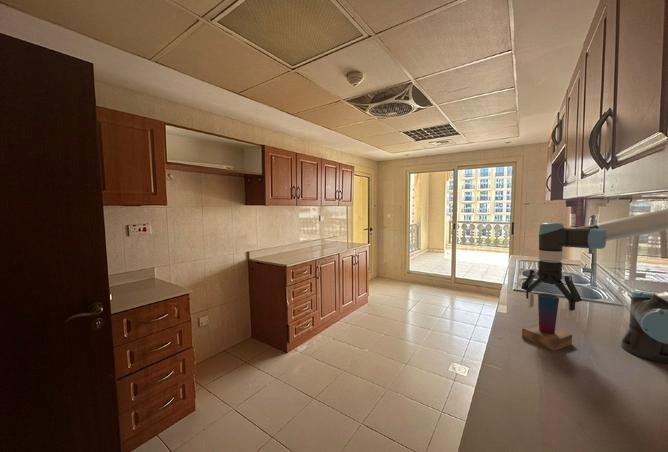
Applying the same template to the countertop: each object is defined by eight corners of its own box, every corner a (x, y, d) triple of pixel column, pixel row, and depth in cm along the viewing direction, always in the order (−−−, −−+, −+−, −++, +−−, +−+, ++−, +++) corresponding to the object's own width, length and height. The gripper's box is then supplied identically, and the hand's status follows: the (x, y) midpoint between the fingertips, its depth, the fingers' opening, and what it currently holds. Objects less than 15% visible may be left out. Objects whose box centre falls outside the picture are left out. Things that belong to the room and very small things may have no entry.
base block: (571, 344, 108) (572, 334, 108) (554, 350, 103) (555, 340, 103) (538, 332, 119) (539, 323, 119) (521, 337, 114) (522, 328, 114)
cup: (549, 328, 114) (551, 293, 113) (561, 335, 107) (563, 298, 106) (532, 327, 114) (534, 292, 113) (543, 334, 108) (545, 298, 107)
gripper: (594, 265, 99) (592, 321, 100) (523, 255, 122) (522, 301, 123) (584, 267, 96) (582, 325, 97) (512, 257, 119) (512, 304, 120)
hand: (548, 312), depth 110 cm, fingers open, 13 cm apart
